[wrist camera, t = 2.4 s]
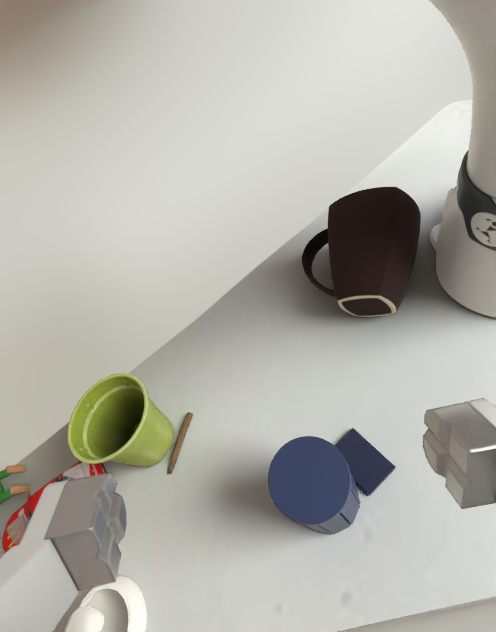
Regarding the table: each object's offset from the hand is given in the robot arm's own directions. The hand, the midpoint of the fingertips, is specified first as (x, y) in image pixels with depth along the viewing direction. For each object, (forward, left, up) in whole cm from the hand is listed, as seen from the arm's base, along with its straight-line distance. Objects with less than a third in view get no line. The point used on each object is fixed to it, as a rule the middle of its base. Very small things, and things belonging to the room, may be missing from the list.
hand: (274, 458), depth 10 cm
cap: (-2, -5, -31) cm, 31 cm away
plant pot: (+11, -23, -31) cm, 40 cm away
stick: (+6, -19, -31) cm, 37 cm away
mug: (-16, -16, -28) cm, 36 cm away
